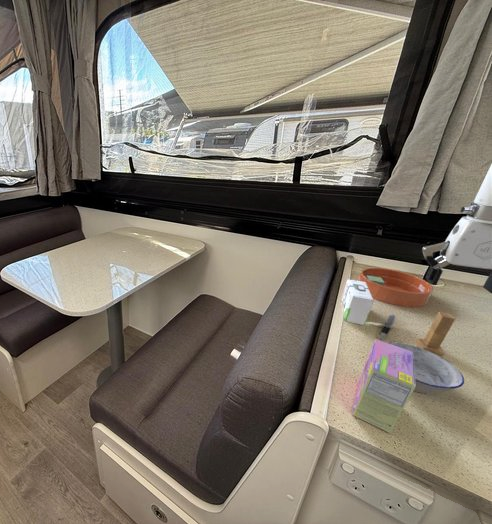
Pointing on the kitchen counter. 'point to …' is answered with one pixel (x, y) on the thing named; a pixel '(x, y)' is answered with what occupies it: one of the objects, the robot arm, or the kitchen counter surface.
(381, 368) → the box
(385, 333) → the knife
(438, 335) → the brown wooden post
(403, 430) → the kitchen counter surface
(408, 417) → the kitchen counter surface
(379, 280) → the block
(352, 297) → the ink box
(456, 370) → the bowl
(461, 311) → the kitchen counter surface
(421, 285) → the bowl
